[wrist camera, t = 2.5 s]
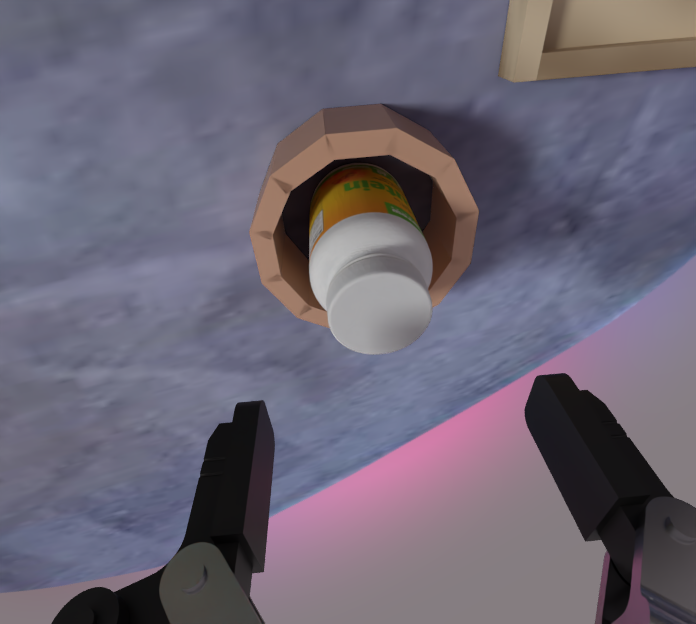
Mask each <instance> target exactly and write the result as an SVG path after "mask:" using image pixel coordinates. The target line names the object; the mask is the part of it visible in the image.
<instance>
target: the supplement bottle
mask: <svg viewBox="0 0 696 624" xmlns="http://www.w3.org/2000/svg"><path fill="white" fill-rule="evenodd" d="M432 272H433V264H432V256H431V252H430V249H429V246H428V244H427V241H426V239H425V237H424V235H423V233H422V231H421V229H420V227H419V225H418V223H417V221H416V218H415V216H414V214H413V212H412V210H411V208H410V206H409V203H408V201H407V199H406V197H405V195H404V192H403V190H402V188H401V187H400V185H399V183H398V182H397V181H396V179H395V178H394V177H393V176H392V175H391V174H390V173H388V172H387V171H386V170H384V169H382V168H381V167H378V166H376V165H373V164H368V163H350V164H346V165H343V166H340V167H338V168H336V169H334V170H333V171H331V172H330V173H328V174H327V175H326V176H325V177H324V178H323V179H322V180H321V181H320V183H319V184H318V186H317V187H316V189H315V191H314V194H313V196H312V199H311V204H310V213H309V275H310V282H311V287H312V290H313V293H314V295H315V297H316V299H317V300H318V302H319V303H320V304H321V306H322V307H323V308H324V309H325V310H326V311H327V316H328V323H329V327H330V329H331V332H332V333H333V335H334V336H335V338H336V339H337V340H338V341H339V342H340V343H341V344H343V345H344V346H345V347H347V348H349V349H351V350H353V351H356V352H360V353H364V354H386V353H391V352H394V351H397V350H400V349H402V348H404V347H406V346H408V345H410V344H411V343H413V342H414V341H415V340H417V339H418V338H419V337H420V336H421V335H422V334H423V333H424V331H425V330H426V328H427V327H428V325H429V323H430V320H431V317H432V309H433V308H432V300H431V297H430V294H429V291H428V288H429V285H430V282H431V278H432Z"/></svg>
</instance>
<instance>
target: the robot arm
mask: <svg viewBox="0 0 696 624" xmlns="http://www.w3.org/2000/svg"><path fill="white" fill-rule="evenodd" d="M525 419H526V423H527V426H528V428H529V431H530V433H531V434H532V436H533V439H534V441H535V443H536V444H537V446H538V448H539V450H540V452H541V454H542V456H543V458H544V460H545V462H546V464H547V466H548V468H549V470H550V472H551V474H552V476H553V478H554V480H555V482H556V484H557V486H558V488H559V490H560V492H561V494H562V496H563V498H564V500H565V502H566V504H567V506H568V508H569V510H570V512H571V514H572V516H573V518H574V520H575V522H576V524H577V526H578V527H579V530H580V532H581V534H582V536H583V538H584V540H585V541H595V540H602V542H603V544H604V546H605V547H606V549H607V551H606V553H605V556H604V562H603V569H602V576H601V584H600V590H599V597H598V605H597V612H596V619H595V624H696V508H695V507H693V506H692V505H690V504H688V503H686V502H684V501H682V500H679V499H676V498H674V497H673V496H672V495H671V494H670V492H669V491H668V490H667V489H666V488H665V486H664V485H663V483H662V482H661V481H660V479H659V478H658V476H657V475H656V474H655V472H654V471H653V470H652V468H651V467H650V465H649V464H648V463H647V461H646V460H645V458H644V457H643V456H642V454H641V453H640V452H639V450H638V449H637V448H636V446H635V445H634V443H633V442H632V441H631V439H630V438H628V437H627V435H626V432H625V431H624V430H623V428H622V427H621V425H620V424H618V423H617V420H616V419H615V417H614V416H613V414H612V413H611V412H610V410H609V409H608V408H607V406H606V405H605V404H604V403H603V402H602V401H601V400H599V399H598V398H597V397H596V396H594V395H593V394H592V393H590V392H589V391H588V390H581V391H580V390H579V389H578V388H577V386H576V385H575V383H574V382H573V380H572V379H571V378H570V377H569V375H567V374H565V373H561V374H549V375H539V376H537V377H536V378H535V381H534V383H533V386H532V389H531V392H530V395H529V398H528V400H527V403H526V406H525ZM274 451H275V441H274V432H273V428H272V425H271V422H270V418H269V415H268V412H267V409H266V405H265V402H264V401H263V400H262V401H251V402H240V403H237V404H236V407H235V411H234V416H233V421H232V422H231V423H221V424H219V425H218V426H217V428H216V429H215V431H214V432H213V434H212V435H211V437H210V438H209V440H208V443H207V447H206V452H205V456H204V462H203V464H202V468H201V472H200V478H199V480H198V485H197V489H196V493H195V497H194V501H193V505H192V509H191V513H190V518H189V522H188V526H187V530H186V534H185V537H184V540H183V542H182V545H181V547H180V548H179V550H178V552H177V553H176V554H175V556H174V557H173V558H172V559H171V560H170V561H169V563H168V564H166V565H165V566H164V567H163V568H162V569H160V570H159V571H158V572H156V573H154V574H152V575H150V576H148V577H146V578H144V579H142V580H140V581H138V582H135V583H133V584H131V585H129V586H127V587H124V588H122V589H121V590H118V591H116V592H112V591H111V590H110V589H107V588H103V587H95V588H91V589H88V590H86V591H83V592H82V593H80V594H78V595H77V596H75V597H74V598H73V599H71V600H70V601H69V602H68V603H67V604H66V605H65V606H64V607H63V608H62V609H61V610H60V612H59V613H58V614H57V616H56V617H55V618H54V620H53V622H52V624H265V622H264V620H263V618H262V617H261V615H260V613H259V611H258V610H257V608H256V606H255V604H254V603H253V601H252V599H251V597H250V588H251V579H252V573H260V572H264V563H265V553H266V542H267V530H268V519H269V508H270V496H271V485H272V474H273V462H274Z"/></svg>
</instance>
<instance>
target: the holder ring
mask: <svg viewBox="0 0 696 624" xmlns="http://www.w3.org/2000/svg"><path fill="white" fill-rule="evenodd" d="M382 155H391V156H393V157H395V158H397V159H399V160H401V161H403V162H405V163H407V164H409V165H411V166H413V167H415V168H417V169H419V170H421V171H423V172H425V173H427V174H429V176H430V178H431V180H432V181H433V188H432V202H431V215H430V221H429V223H428V224H427V226H426V227H425V229H424V230H423V232H422V233H423V235H424V237H425V239H426V241H427V244H428V246H429V249H430V252H431V256H432V264H433V272H432V278H431V282H430V285H429V288H428V291H429V294H430V297H431V300H432V308H433V307H434V306H436V305H438V304H439V303H440V302H441V301H442V300H443V298H444V297H445V296H446V294H447V293H448V292H449V291H450V289H451V288H452V287H453V285H454V284H455V283H456V282H457V280H458V279H459V278H460V276H461V275H462V274H463V273H464V271H465V270H466V269H467V267H468V266H469V265H470V264H471V259H472V252H473V246H474V240H475V233H476V227H477V221H478V214H479V210H478V207H477V205H476V203H475V201H474V199H473V197H472V195H471V193H470V191H469V189H468V187H467V184H466V182H465V180H464V178H463V176H462V174H461V172H460V170H459V168H458V166H457V164H456V161H455V159H454V158H453V157H452V156H451V155H450V154H449V153H448V151H447V150H446V149H445V148H444V147H443V146H442V145H441V144H440V142H439V141H438V140H437V139H436V138H435V137H434V136H433V135H432V133H431V132H430V131H429V130H427V129H425V128H424V127H422V126H420V125H418V124H416V123H415V122H413V121H411V120H409V119H407V118H406V117H404V116H402V115H400V114H398V113H397V112H395V111H393V110H391V109H389V108H388V107H386V106H384V105H382V104H373V105H361V106H350V107H338V108H327V109H322V110H321V111H319V112H318V113H317V114H315V115H314V116H313V117H312V118H310V119H309V120H308V121H306V122H305V123H304V124H302V125H301V126H300V127H299V128H297V129H296V130H295V131H293V132H292V133H291V134H290V135H288V136H287V137H286V138H284V139H283V140H282V141H280V142H279V143H278V144H277V146H276V149H275V152H274V155H273V157H272V160H271V163H270V165H269V168H268V171H267V174H266V176H265V179H264V182H263V185H262V187H261V190H260V193H259V197H258V201H257V204H256V208H255V212H254V216H253V220H252V224H251V227H250V231H249V233H250V237H251V241H252V245H253V249H254V253H255V257H256V261H257V265H258V269H259V273H260V277H261V281H262V284H263V285H264V286H265V287H266V288H267V289H268V290H269V291H270V292H271V293H272V294H274V295H275V296H276V297H277V298H278V299H279V300H280V301H281V302H282V303H283V304H284V305H285V306H286V307H287V308H288V309H289V310H290V311H291V312H292V313H293V314H294V315H295V316H296V317H297V318H299V319H303V320H306V321H309V322H312V323H315V324H318V325H321V326H324V327H328V328H330V327H329V323H328V316H327V311H326V310H325V309H324V308H323V307H322V306H321V304H320V303H319V302H318V300H317V299H316V297H315V295H314V293H313V290H312V287H311V282H310V275H309V260H308V259H307V258H306V257H305V255H304V254H303V253H302V252H301V251H300V250H299V249H298V247H297V246H296V245H295V244H294V243H293V242H292V241H291V239H290V238H289V237H288V236H287V235H286V233H285V228H284V222H283V217H282V211H283V208H284V206H285V204H286V201H287V199H288V196H289V194H290V191H292V190H293V189H294V188H296V187H297V186H299V185H300V184H301V183H303V182H304V181H306V180H307V179H308V178H310V177H311V176H313V175H314V174H315V173H317V172H318V171H320V170H321V169H322V168H324V167H325V166H326V165H328V164H329V163H331V162H332V161H333V160H337V159H349V158H360V157H371V156H382Z"/></svg>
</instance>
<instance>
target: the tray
mask: <svg viewBox="0 0 696 624" xmlns="http://www.w3.org/2000/svg"><path fill="white" fill-rule="evenodd" d="M686 67H696V0H510V3H509V10H508V16H507V22H506V29H505V35H504V42H503V48H502V55H501V61H500V68H499V74H498V76H499V77H502V78H504V79H507V80H509V81H511V82H524V81H535V80H547V79H559V78H570V77H582V76H593V75H605V74H616V73H628V72H639V71H651V70H662V69H674V68H686Z"/></svg>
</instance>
